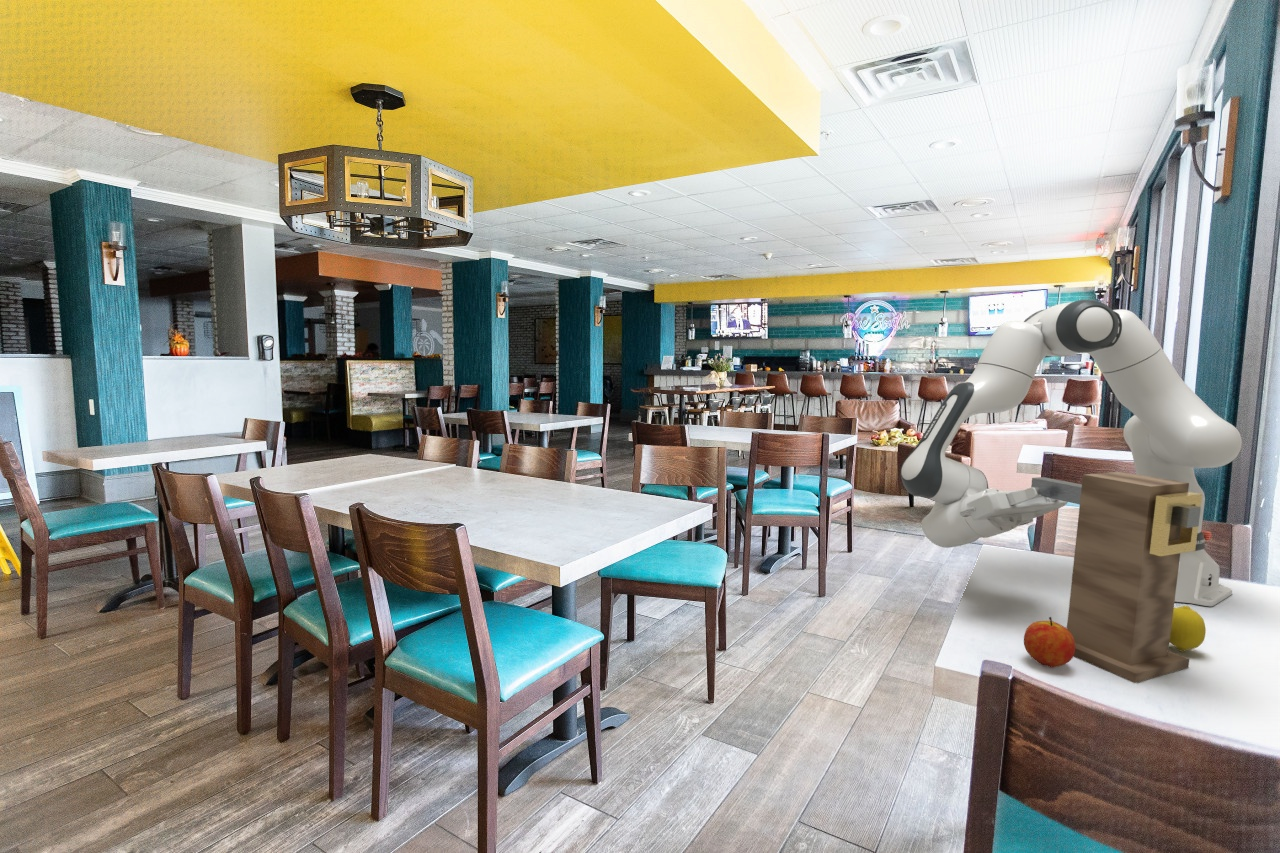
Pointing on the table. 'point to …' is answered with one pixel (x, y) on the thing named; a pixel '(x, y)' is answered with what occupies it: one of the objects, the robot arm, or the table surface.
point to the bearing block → (1123, 578)
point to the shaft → (1072, 493)
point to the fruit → (1049, 643)
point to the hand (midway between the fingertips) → (1055, 489)
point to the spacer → (1163, 521)
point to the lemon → (1187, 629)
